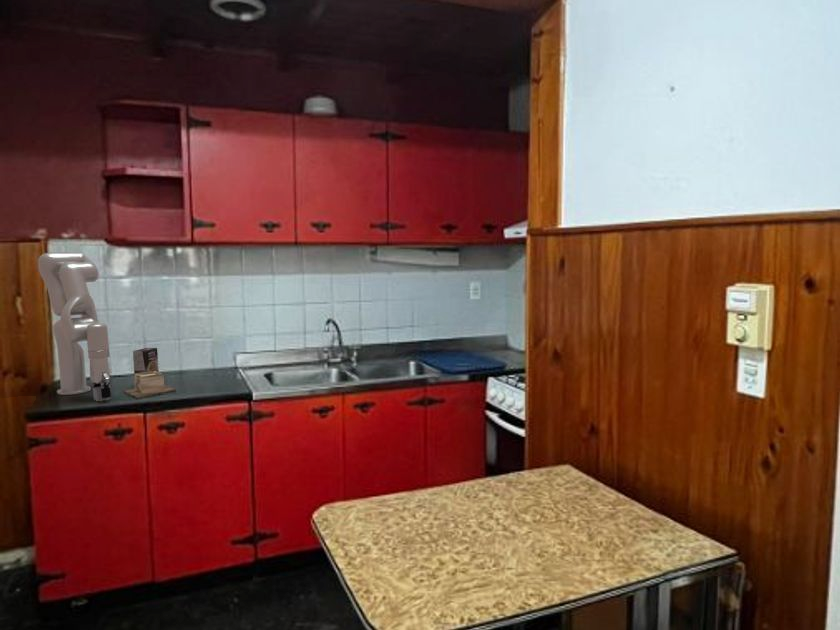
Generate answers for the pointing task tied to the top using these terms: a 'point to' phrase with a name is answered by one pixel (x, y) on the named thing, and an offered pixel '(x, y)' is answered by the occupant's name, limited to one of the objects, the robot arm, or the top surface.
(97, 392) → the grey cube
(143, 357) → the coffee box
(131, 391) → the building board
